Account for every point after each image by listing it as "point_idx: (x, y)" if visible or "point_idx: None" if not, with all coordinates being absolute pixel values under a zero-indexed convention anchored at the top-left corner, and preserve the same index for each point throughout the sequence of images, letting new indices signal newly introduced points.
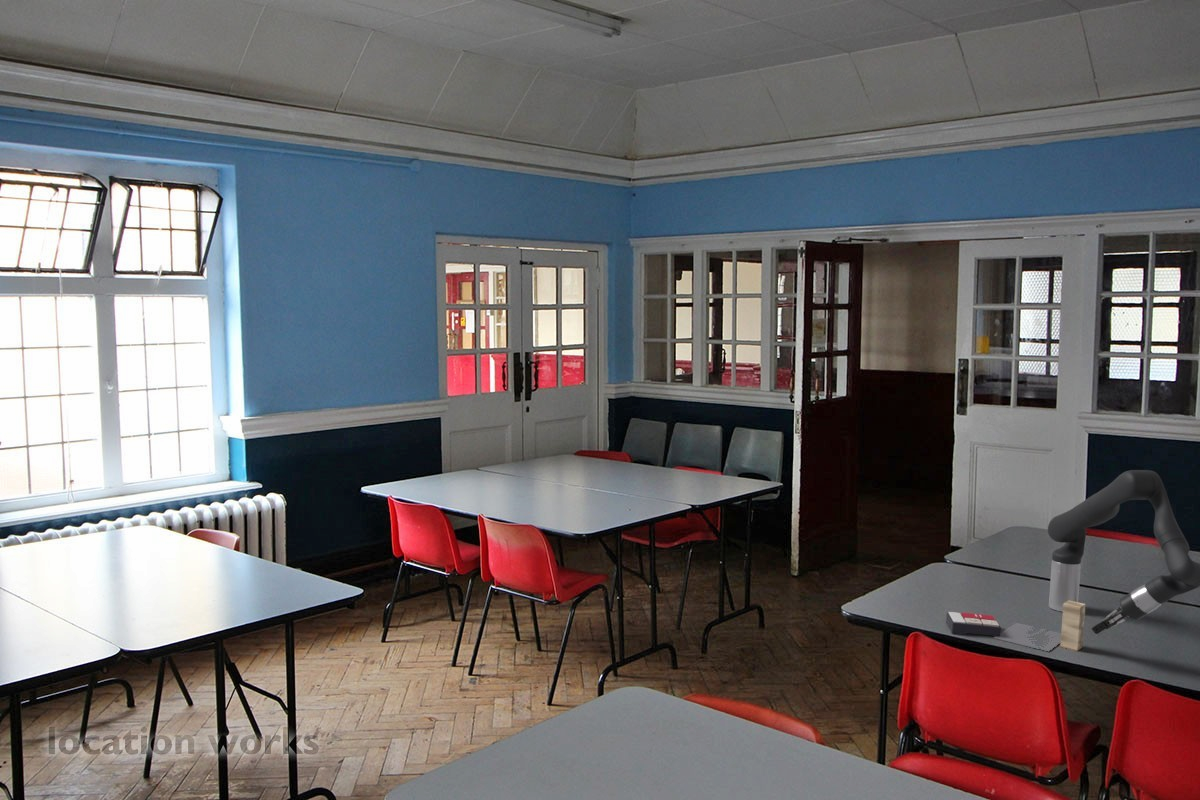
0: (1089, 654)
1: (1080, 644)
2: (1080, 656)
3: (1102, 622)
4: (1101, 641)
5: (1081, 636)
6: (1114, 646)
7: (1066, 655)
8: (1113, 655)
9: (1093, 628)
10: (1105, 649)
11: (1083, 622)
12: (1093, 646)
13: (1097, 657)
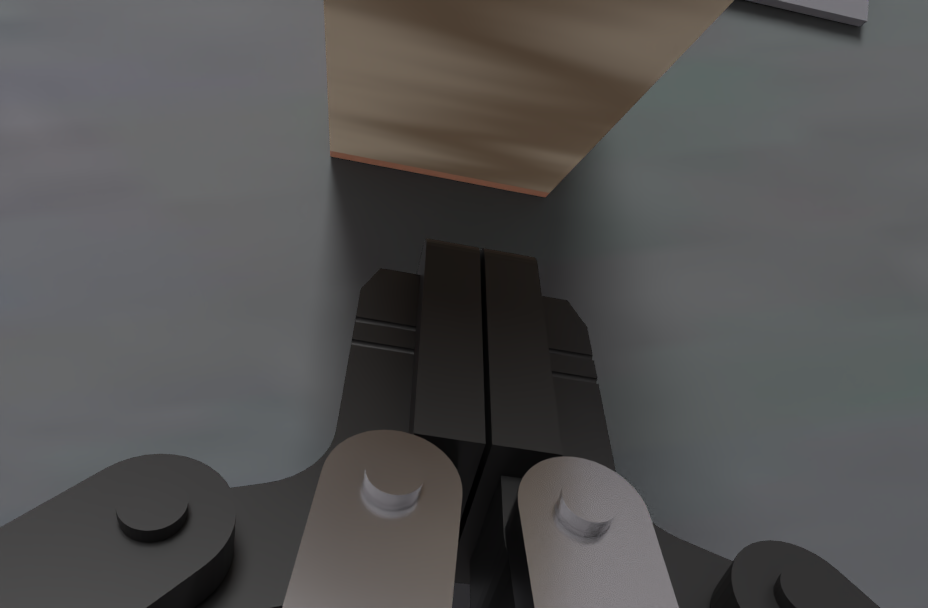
0: (294, 314)
1: (470, 163)
2: (128, 218)
3: (17, 541)
4: (920, 384)
5: (512, 126)
6: (836, 557)
7: (56, 50)
8: (456, 604)
9: (423, 271)
10: (641, 472)
11: (658, 29)
12: (662, 321)
13: (229, 425)
